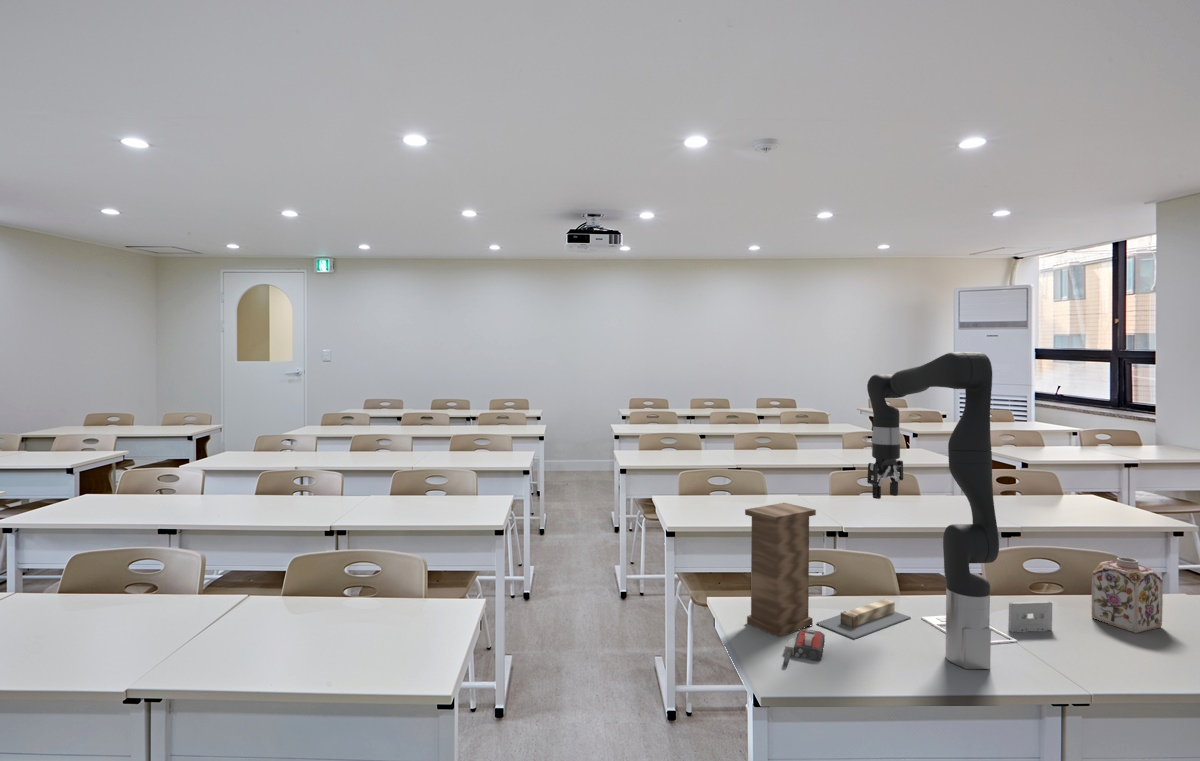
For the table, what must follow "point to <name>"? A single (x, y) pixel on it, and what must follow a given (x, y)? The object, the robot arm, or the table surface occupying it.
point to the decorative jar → (1127, 595)
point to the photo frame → (941, 621)
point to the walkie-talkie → (805, 645)
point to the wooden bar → (867, 613)
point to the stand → (780, 568)
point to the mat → (863, 625)
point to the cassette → (1024, 623)
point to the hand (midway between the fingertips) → (885, 496)
